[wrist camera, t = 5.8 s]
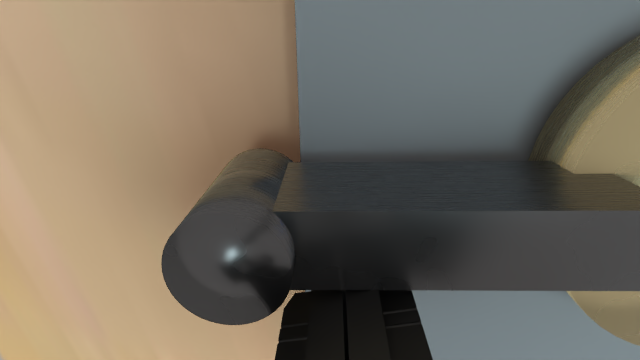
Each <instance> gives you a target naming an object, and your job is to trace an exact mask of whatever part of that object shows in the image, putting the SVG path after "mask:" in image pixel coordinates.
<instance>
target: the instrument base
mask: <svg viewBox="0 0 640 360" xmlns="http://www.w3.org/2000/svg"><path fill="white" fill-rule="evenodd" d="M295 19H296V46H297V73H298V101H299V128H300V155H301V162H423V161H528V160H529V157H530V155H531V152H532V150H533V147H534V145H535V142H536V140H537V138H538V136H539V134H540V132H541V131H542V129H543V127H544V125H545V123H546V121H547V120H548V118H549V117H550V115H551V114H552V113H553V111H554V110H555V108H556V107H557V105H558V104H559V103H560V101H561V100H562V99H563V98H564V97H565V95H566V94H567V93H568V92H569V91H570V90H571V89H572V87H573V86H574V85H575V84H576V83H577V82H578V81H579V80H580V79H581V78H582V77H583V76H584V75H585V74H587V73H588V72H589V71H590V70H591V69H592V68H593V67H594V66H595V65H596V64H598V63H599V62H600V61H602V60H603V59H604V58H606V57H607V56H608V55H610V54H611V53H612V52H614V51H615V50H616V49H618V48H619V47H621V46H623V45H624V44H626V43H628V42H629V41H631V40H633V39H634V38H636V37H638V36H639V35H640V0H295ZM309 291H311V290H305V292H309ZM411 291H412V293H413V297H414V300H415V303H416V306H417V310H418V313H419V316H420V319H421V324H422V326H423V329H424V332H425V336H426V339H427V342H428V345H429V348H430V352H431V355H432V358H433V360H640V346H638V345H635V344H632V343H630V342H627V341H625V340H623V339H621V338H618V337H616V336H614V335H613V334H611V333H610V332H608V331H606V330H605V329H603V328H602V327H600V326H599V325H598V324H597V323H596V322H594V321H593V320H592V319H591V318H590V317H589V316H587V314H586V313H585V312H584V311H583V310H582V309H581V308H580V307H579V306H578V305H577V303H576V302H575V301H574V300H573V299H572V298H571V297H570V296H569V295H568V293H567V292H566V291H443V290H411Z"/></svg>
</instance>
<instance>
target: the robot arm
mask: <svg viewBox="0 0 640 360" xmlns="http://www.w3.org/2000/svg"><path fill="white" fill-rule="evenodd" d="M275 360H433V358H432V355H431V352H430V348H429V345H428V342H427V339H426V336H425V332H424V329H423V326H422V324H421V319H420V316H419V313H418V310H417V306H416V303H415V300H414V297H413V293H412V291H411V290H378V289H377V290H311V291H309V292H302V293H295V294H294V295H293V297H292V298H291V300H290V301H289V302H288V304H287V305H286V307H285V308H284V312H283V317H282V323H281V329H280V334H279V344H278V345H277V351H276V356H275Z"/></svg>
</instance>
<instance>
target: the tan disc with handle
mask: <svg viewBox="0 0 640 360" xmlns="http://www.w3.org/2000/svg"><path fill="white" fill-rule="evenodd" d="M162 273H163V277H164V280H165V282H166V285H167V287H168V289H169V290H170V292H171V294H172V295H173V296H174V298H175V299H176V300H177V301H178V302H179V303H180V304H181V305H182V306H183V307H184V308H186V309H187V310H188V311H190V312H191V313H193V314H195V315H196V316H198V317H200V318H203V319H205V320H208V321H211V322H215V323H219V324H225V325H242V324H248V323H252V322H256V321H258V320H261V319H263V318H265V317H267V316H269V315H270V314H272V313H273V312H274V311H276V310H277V309H278V308H279V307H280V306H281V304H282V303H283V302H284V300H285V299H286V297H287V295H288V293H289V290H377V289H378V290H443V291H566V292H567V293H568V295H569V296H570V297H571V298H572V299H573V300H574V301H575V302H576V303H577V305H578V306H579V307H580V308H581V309H582V310H583V311H584V312H585V313H586V314H587V316H589V317H590V318H591V319H592V320H593V321H594V322H596V323H597V324H598V325H599V326H600V327H602V328H603V329H605V330H606V331H608V332H610V333H611V334H613V335H614V336H616V337H618V338H621V339H623V340H625V341H627V342H630V343H632V344H635V345H638V346H640V35H639V36H638V37H636V38H634V39H633V40H631V41H629V42H628V43H626V44H624V45H623V46H621V47H619V48H618V49H616V50H615V51H614V52H612V53H611V54H610V55H608V56H607V57H606V58H604V59H603V60H602V61H600V62H599V63H598V64H596V65H595V66H594V67H593V68H592V69H591V70H590V71H589V72H588V73H587V74H585V75H584V76H583V77H582V78H581V79H580V80H579V81H578V82H577V83H576V84H575V85H574V86H573V87H572V89H571V90H570V91H569V92H568V93H567V94H566V95H565V97H564V98H563V99H562V100H561V101H560V103H559V104H558V105H557V107H556V108H555V110H554V111H553V113H552V114H551V115H550V117H549V118H548V120H547V121H546V123H545V125H544V127H543V129H542V131H541V132H540V134H539V136H538V138H537V140H536V142H535V145H534V147H533V150H532V152H531V155H530V157H529V160H528V161H423V162H293V161H292V160H290V159H289V158H288V157H286V156H285V155H283V154H281V153H279V152H276V151H273V150H269V149H252V150H248V151H245V152H242V153H240V154H238V155H237V156H236V157H234V158H233V159H232V160H231V161H230V162H229V163H228V164H227V166H226V167H225V168H224V169H223V171H222V172H221V173H220V174H219V176H218V177H217V178H216V180H215V181H214V182H213V183H212V185H211V186H210V187H209V188H208V190H207V191H206V192H205V193H204V195H203V196H202V197H201V198H200V200H199V201H198V202H197V204H196V205H195V206H194V207H193V209H192V210H191V211H190V212H189V214H188V215H187V216H186V217H185V219H184V220H183V221H182V222H181V224H180V225H179V226H178V227H177V229H176V230H175V231H174V233H173V234H172V235H171V236H170V238H169V239H168V241H167V243H166V245H165V248H164V250H163V255H162Z"/></svg>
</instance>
